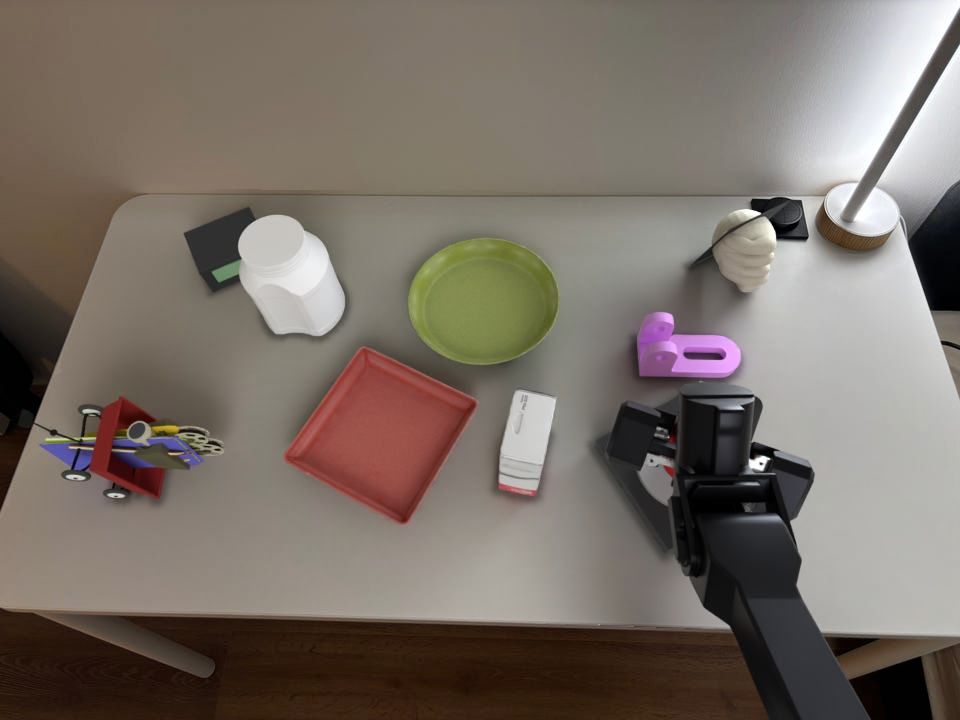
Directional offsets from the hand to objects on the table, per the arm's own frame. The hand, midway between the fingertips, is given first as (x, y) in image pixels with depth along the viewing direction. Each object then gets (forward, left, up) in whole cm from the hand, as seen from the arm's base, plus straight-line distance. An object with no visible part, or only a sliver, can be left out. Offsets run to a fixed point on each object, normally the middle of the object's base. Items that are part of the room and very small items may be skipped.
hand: (703, 430), depth 72 cm
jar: (+44, +33, -10) cm, 56 cm away
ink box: (+9, +17, -10) cm, 22 cm away
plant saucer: (+20, +31, -10) cm, 38 cm away
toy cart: (+31, +58, -10) cm, 67 cm away
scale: (-1, +1, -10) cm, 10 cm away
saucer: (+31, +11, -10) cm, 35 cm away
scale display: (+57, +39, -10) cm, 70 cm away
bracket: (+11, -9, -10) cm, 17 cm away
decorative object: (+19, -23, -10) cm, 31 cm away
